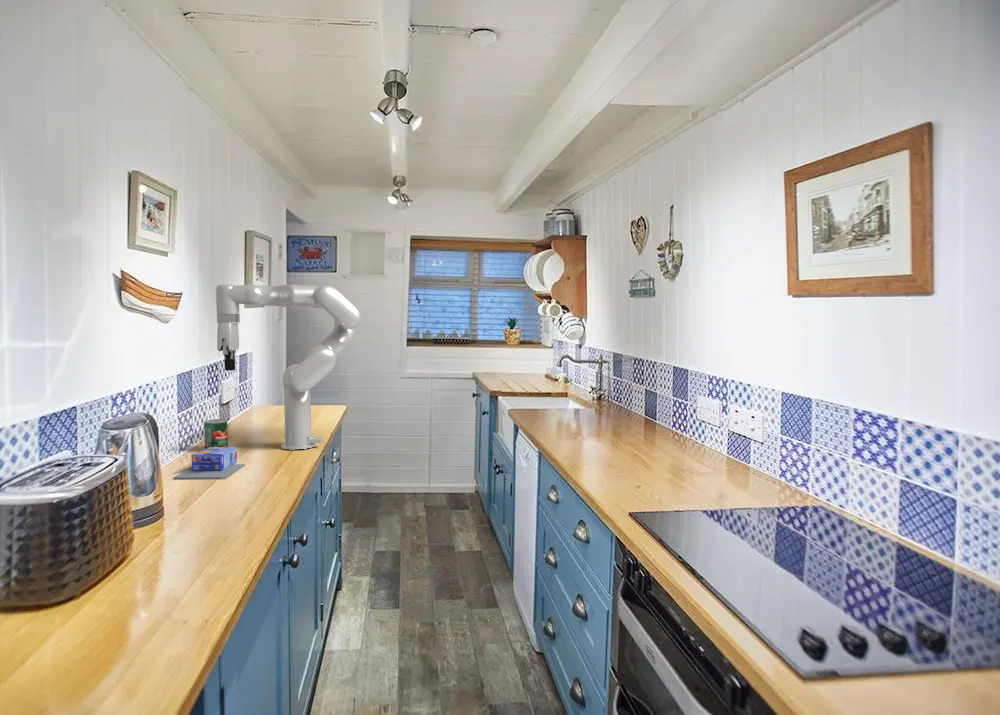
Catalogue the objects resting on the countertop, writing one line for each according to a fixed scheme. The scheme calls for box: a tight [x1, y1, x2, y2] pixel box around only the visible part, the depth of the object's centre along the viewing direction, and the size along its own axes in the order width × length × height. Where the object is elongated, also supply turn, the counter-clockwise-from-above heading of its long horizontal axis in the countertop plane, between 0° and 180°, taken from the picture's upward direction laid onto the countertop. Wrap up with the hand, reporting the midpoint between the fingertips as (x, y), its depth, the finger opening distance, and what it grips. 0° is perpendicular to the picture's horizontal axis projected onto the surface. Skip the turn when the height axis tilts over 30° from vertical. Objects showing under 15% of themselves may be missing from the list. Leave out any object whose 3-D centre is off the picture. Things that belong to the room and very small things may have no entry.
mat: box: [172, 463, 246, 480], centre depth 198 cm, size 16×16×1 cm
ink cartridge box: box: [191, 446, 238, 471], centre depth 202 cm, size 10×6×14 cm
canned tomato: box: [203, 418, 229, 450], centre depth 229 cm, size 8×8×11 cm
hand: (230, 370), depth 222 cm, fingers closed
